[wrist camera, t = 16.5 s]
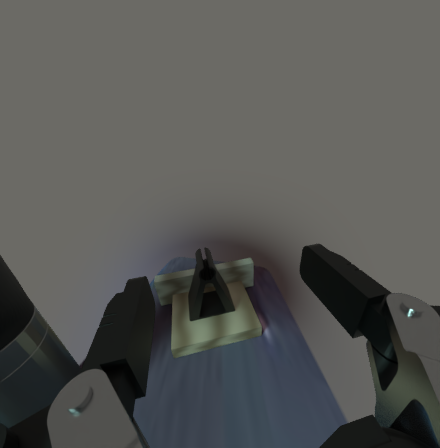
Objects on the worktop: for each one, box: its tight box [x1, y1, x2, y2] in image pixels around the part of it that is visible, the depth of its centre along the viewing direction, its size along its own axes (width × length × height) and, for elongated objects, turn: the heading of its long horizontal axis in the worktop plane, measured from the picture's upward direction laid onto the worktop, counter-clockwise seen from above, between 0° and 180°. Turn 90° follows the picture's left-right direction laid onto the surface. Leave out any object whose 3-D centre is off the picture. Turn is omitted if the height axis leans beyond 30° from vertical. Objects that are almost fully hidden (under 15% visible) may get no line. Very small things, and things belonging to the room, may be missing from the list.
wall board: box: [154, 258, 262, 358], centre depth 38 cm, size 22×14×7 cm, turn 102°
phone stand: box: [188, 248, 235, 321], centre depth 36 cm, size 9×6×12 cm, turn 102°
